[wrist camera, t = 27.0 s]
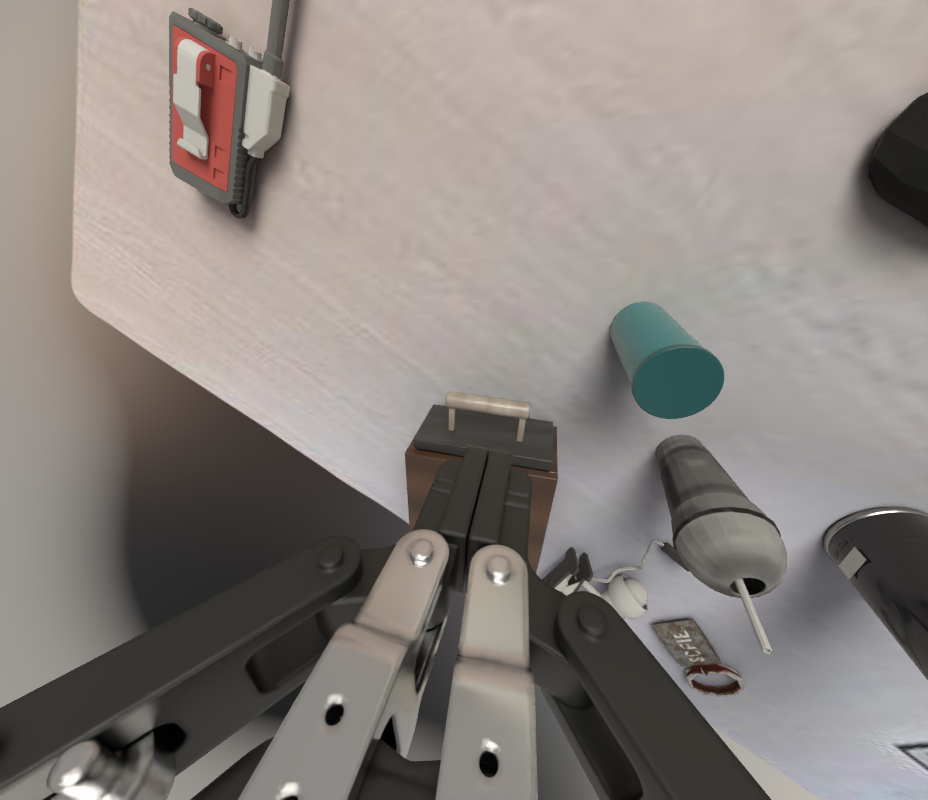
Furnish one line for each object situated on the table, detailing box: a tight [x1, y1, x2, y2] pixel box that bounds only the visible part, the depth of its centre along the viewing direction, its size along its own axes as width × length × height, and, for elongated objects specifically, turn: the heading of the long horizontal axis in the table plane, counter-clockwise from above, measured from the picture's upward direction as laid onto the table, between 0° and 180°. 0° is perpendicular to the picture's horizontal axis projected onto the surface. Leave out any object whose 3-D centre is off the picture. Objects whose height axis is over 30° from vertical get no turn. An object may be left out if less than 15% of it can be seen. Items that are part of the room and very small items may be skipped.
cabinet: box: [405, 411, 558, 573], centre depth 41 cm, size 16×15×9 cm
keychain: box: [652, 619, 744, 697], centre depth 52 cm, size 8×19×2 cm, turn 36°
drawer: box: [414, 392, 553, 471], centre depth 39 cm, size 19×14×7 cm
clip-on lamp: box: [542, 540, 689, 619], centre depth 45 cm, size 12×6×18 cm
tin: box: [610, 302, 724, 419], centre depth 27 cm, size 5×5×12 cm
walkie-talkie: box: [169, 0, 290, 218], centre depth 28 cm, size 9×4×20 cm
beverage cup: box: [656, 435, 787, 654], centre depth 29 cm, size 7×7×20 cm
